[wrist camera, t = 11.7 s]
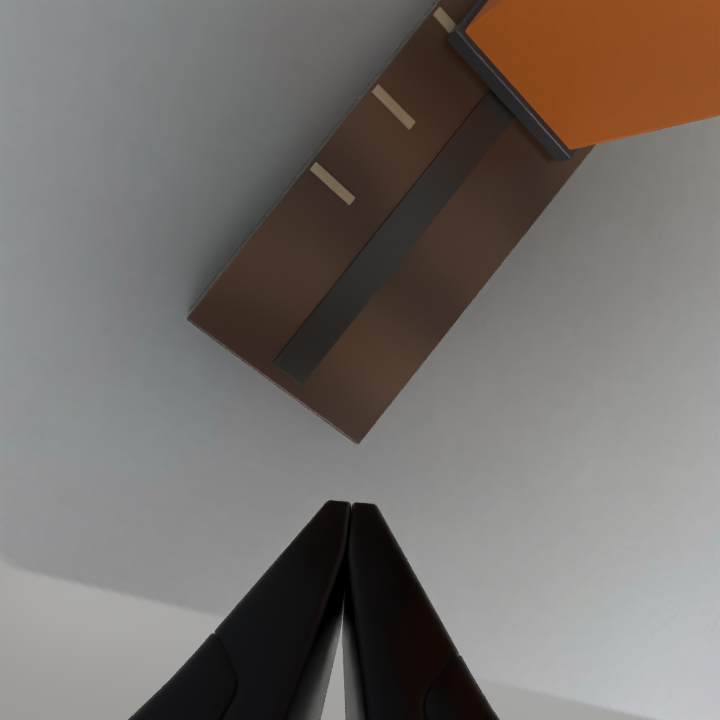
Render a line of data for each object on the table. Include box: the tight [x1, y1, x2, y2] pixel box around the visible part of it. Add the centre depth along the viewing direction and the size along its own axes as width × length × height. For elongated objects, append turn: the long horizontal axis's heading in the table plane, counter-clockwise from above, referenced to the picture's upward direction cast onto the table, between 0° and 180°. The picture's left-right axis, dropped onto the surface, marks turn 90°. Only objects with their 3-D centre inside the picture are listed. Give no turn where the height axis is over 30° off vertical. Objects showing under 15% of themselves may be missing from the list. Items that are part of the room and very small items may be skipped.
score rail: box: [187, 0, 596, 444], centre depth 18 cm, size 20×7×4 cm, turn 140°
